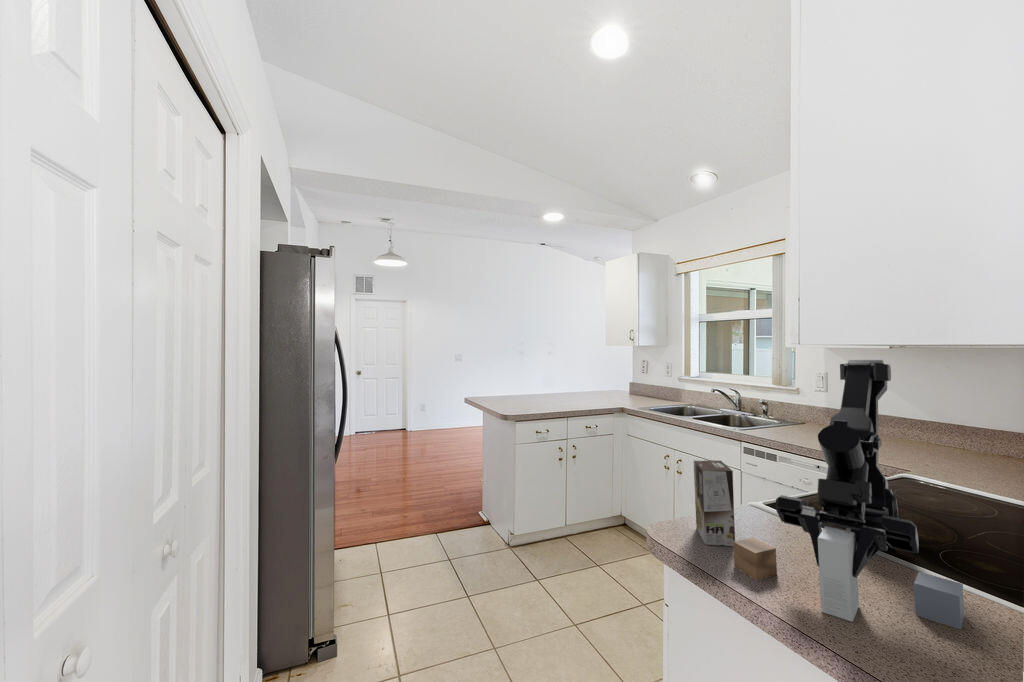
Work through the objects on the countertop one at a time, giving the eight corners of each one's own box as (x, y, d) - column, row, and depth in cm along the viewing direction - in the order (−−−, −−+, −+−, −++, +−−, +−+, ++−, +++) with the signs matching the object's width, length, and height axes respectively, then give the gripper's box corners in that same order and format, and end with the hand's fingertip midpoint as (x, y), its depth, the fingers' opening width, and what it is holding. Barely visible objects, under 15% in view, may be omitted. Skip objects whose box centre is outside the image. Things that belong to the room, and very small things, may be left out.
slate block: (920, 602, 71) (919, 571, 71) (964, 616, 67) (962, 583, 67) (915, 615, 68) (913, 583, 68) (961, 630, 64) (959, 596, 64)
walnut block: (754, 562, 86) (753, 537, 86) (776, 575, 81) (775, 548, 81) (734, 567, 84) (733, 541, 84) (756, 580, 79) (755, 553, 79)
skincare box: (827, 596, 74) (824, 525, 74) (859, 606, 71) (856, 532, 71) (819, 612, 69) (816, 536, 69) (853, 623, 66) (850, 544, 66)
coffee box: (736, 547, 92) (733, 470, 92) (704, 545, 93) (701, 470, 94) (724, 529, 101) (722, 459, 101) (695, 527, 102) (692, 459, 103)
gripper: (775, 450, 80) (758, 530, 72) (913, 469, 66) (911, 569, 58) (789, 483, 85) (774, 560, 77) (919, 506, 72) (917, 602, 64)
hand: (836, 571), depth 69 cm, fingers closed on skincare box, 4 cm apart
